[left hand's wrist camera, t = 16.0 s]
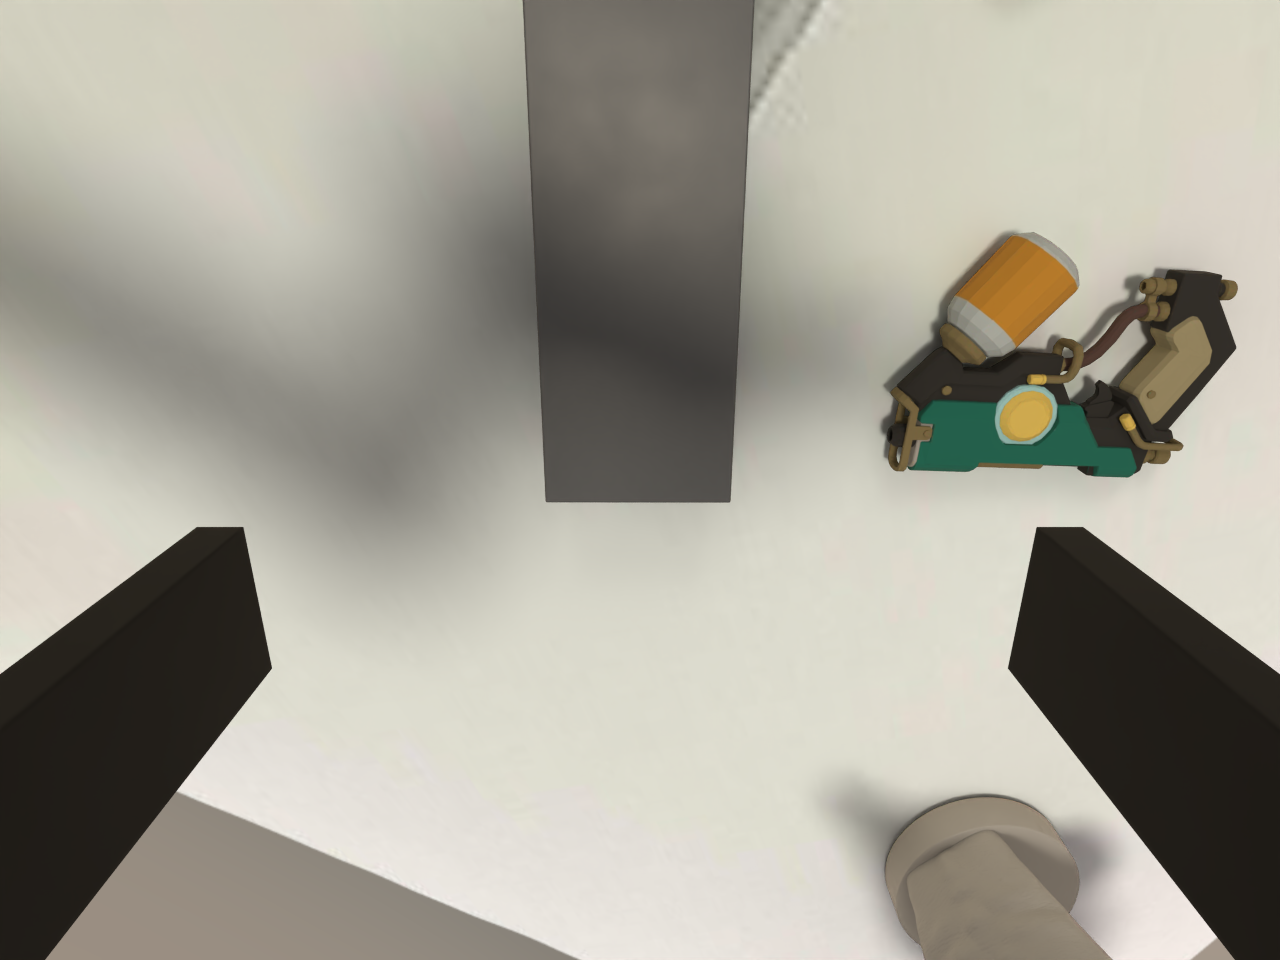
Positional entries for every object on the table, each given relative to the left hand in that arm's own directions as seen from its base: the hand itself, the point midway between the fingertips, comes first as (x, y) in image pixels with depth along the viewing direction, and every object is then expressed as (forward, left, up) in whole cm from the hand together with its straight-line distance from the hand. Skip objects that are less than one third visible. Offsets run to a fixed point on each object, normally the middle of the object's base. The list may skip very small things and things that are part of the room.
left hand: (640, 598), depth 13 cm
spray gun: (+21, +9, -31) cm, 38 cm away
